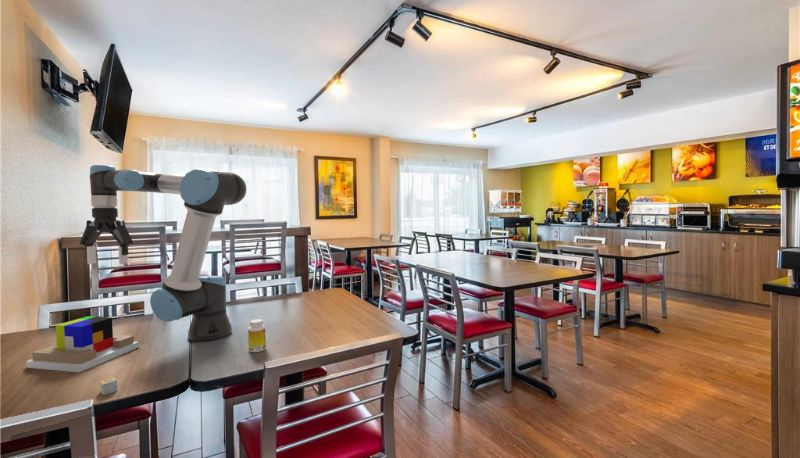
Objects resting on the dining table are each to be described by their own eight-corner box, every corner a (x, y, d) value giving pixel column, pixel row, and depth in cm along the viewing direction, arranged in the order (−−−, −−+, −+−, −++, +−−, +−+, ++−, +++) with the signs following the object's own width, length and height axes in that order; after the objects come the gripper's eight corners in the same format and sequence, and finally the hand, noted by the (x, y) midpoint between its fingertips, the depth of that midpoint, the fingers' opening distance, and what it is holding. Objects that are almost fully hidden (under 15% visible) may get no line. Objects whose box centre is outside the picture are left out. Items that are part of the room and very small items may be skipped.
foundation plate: (138, 347, 128) (138, 335, 128) (79, 372, 108) (78, 357, 108) (92, 344, 132) (91, 331, 131) (26, 367, 112) (25, 353, 112)
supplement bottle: (266, 351, 124) (265, 321, 123) (249, 354, 121) (248, 324, 121) (265, 345, 129) (264, 317, 128) (248, 348, 126) (247, 319, 126)
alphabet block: (102, 395, 95) (102, 384, 94) (100, 392, 97) (99, 380, 96) (117, 391, 97) (116, 380, 97) (114, 387, 99) (114, 376, 99)
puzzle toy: (82, 358, 114) (81, 326, 114) (57, 355, 116) (55, 325, 115) (113, 346, 124) (112, 317, 123) (89, 344, 126) (88, 316, 125)
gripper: (142, 207, 137) (145, 262, 138) (86, 207, 140) (88, 261, 142) (125, 206, 129) (127, 265, 131) (65, 207, 133) (68, 264, 134)
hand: (107, 263), depth 136 cm, fingers open, 13 cm apart
